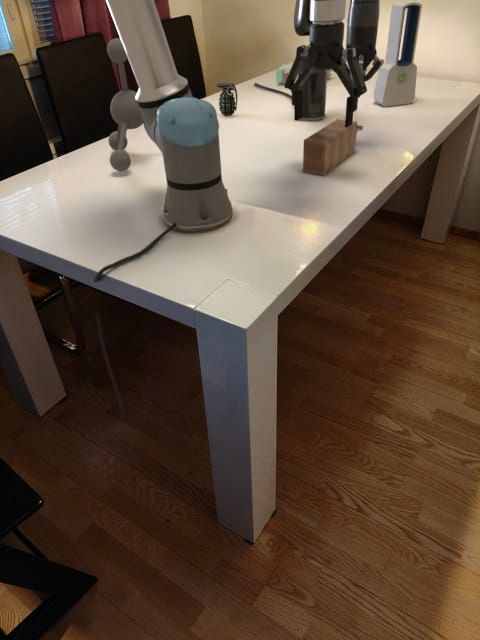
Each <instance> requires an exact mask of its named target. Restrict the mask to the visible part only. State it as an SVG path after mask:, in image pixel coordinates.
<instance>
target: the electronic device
mask: <svg viewBox="0 0 480 640" xmlns="http://www.w3.org/2000/svg"><path fill="white" fill-rule="evenodd" d="M422 8H423V4H421V2H420V3H419V2H416V1H408V0H399V1H396V2H394V3H392V4H391V11H390V17H389V18H390V19H389V28H388V35H387V43H386V50H385V51H386V52H385V58H384V59H385V60H384V63H383V65H382V66H381V67H380V68H379V69H378V74H377V77H376V81H375V85H374V89H373V100H374V101H375V103H376V104H378V105H381V106H383V107H384V108H385V107H393V106H400V105H408V104H412V103H413V102H414V100H415V99H416V88H417V86H416V85H417V75H418V74H417V72H418V66H417V65H416V63H414V60H415V55H416V48H417V42H418V33H419V28H420V21H421V16H422V15H421V14H422ZM405 14H406V17H405ZM404 20H405V24H404ZM403 28H404V29H403ZM403 31H404V32H403ZM402 36H403V38H402ZM401 43H402V46H401ZM400 51H401V52H400ZM399 57H400V59H399Z"/></svg>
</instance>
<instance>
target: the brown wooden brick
mask: <svg viewBox="0 0 480 640" xmlns="http://www.w3.org/2000/svg"><path fill="white" fill-rule="evenodd" d="M357 125H358V121H354V120H353V123H352V125H350V126H349V127H345V119H338V118H337V119H335V120H333V121H332V122H331V123H329V124H326V125H325V126H324V127H322V128H321V129H319V130H318V131H316V132H314V133H313V134H311V135H310V136H308V137H306V138H304V139H303V152H302V153H303V154H302V155H303V156H302V172H303V173H308V174H313V175H319V176H325V175H326V174H328V173H329V172H331V170H333V169H334V168H335V167H337V166H338V165H339V164H340V163H342V162H344V160H346V159H347V158H349V156H351V155H352V154H354V153H355V151H356V150H355V148H356V143H355V139H356V140H357V133H356V129H357Z"/></svg>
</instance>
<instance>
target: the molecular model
mask: <svg viewBox="0 0 480 640" xmlns="http://www.w3.org/2000/svg"><path fill="white" fill-rule="evenodd" d="M106 52H107V55H108V57H109V59H110V60H111V61H112V62H114V63H115V64H117V68H118V73H119V79H120V85H121V89H122V90H120V91H118V92H117V93H116V94H115V95H114V96H113V97H112V99H111V102H110V115H111V117H112V119H113V120H114V122H115V123H116V124H117V125H118V127H117V131H113V132H111V133H110V134H109V136H108V138H107V139H108V145H109V147H110V148H111V149H112V150H113V152H111V154H110V156H109V163H110V166H111V167H112V169H114V170H115V171H117V172H126V171H128V169H129V168H130V167H131V164H132V158H131V156H130V154H129V153H128V152H127V151H126V148H127V147H128V137H127V130H134V129H138V128H140V127H141V126H143V125H144V123H143V116H142V113H141V111H140V108H139V106H138V103H137V100H136V95H137V92H138V91H134V90H132V89H129V86H128V81H127V73H126V69H125V62H126V61H127V60H129V59H128V57H127V54H126V52H125V49H124V46H123V44H122V41H121V38H120V37H118V38H117V37H115V38H112V39H111V40H109V42H108V44H107V46H106Z"/></svg>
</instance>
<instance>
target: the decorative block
mask: <svg viewBox="0 0 480 640" xmlns="http://www.w3.org/2000/svg"><path fill="white" fill-rule="evenodd" d="M293 63H294V61H292V62H289V63H287V62H282V64H281V66H278V68H277V69H276V70H275V71H276V73H275V74H276V75H275V76H276V77H275V78H276V83H282V84H285V82H286V80H287V77H288V75H289V72H290V70H291V68H292V65H293ZM331 72H334V71H333V69H330V70H327V77H328V76H330V75H331ZM297 79H298V75H297V77H296V79H295V82H296V80H297ZM295 82H294V83H295Z"/></svg>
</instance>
